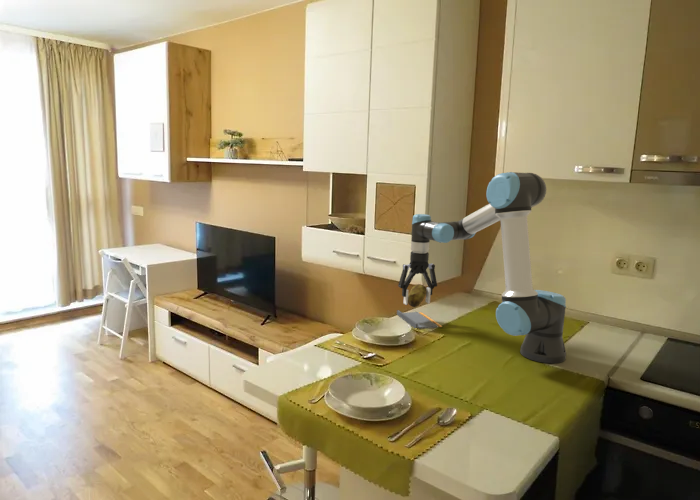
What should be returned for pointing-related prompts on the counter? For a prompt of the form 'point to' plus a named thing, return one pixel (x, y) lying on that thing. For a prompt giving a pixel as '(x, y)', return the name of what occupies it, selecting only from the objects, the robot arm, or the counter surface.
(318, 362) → the counter surface
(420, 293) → the potato
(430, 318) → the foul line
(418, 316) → the mat
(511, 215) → the robot arm
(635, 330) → the counter surface
